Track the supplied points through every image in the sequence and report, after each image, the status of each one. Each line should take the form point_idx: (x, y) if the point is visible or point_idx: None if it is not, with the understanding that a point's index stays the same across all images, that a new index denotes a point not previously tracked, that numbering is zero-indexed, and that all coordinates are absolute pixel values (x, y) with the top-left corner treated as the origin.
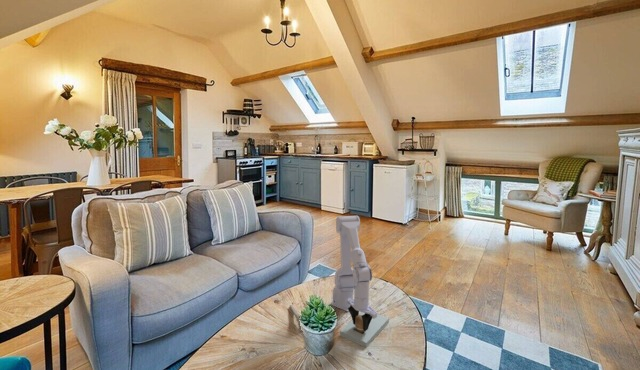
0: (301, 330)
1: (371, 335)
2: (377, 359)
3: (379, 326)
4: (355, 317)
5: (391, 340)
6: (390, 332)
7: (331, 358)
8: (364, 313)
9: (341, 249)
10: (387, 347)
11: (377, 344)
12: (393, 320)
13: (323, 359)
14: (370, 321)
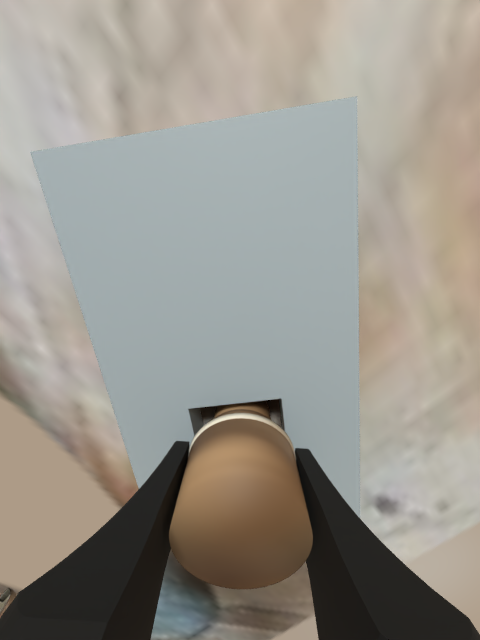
0: (5, 603)
1: (348, 444)
2: (442, 511)
3: (343, 310)
4: (183, 566)
5: (457, 330)
6: (414, 250)
7: (256, 616)
8: (103, 234)
9: None
10: (457, 406)
11: (388, 425)
12: (361, 35)
13: (235, 634)
14: (357, 517)
